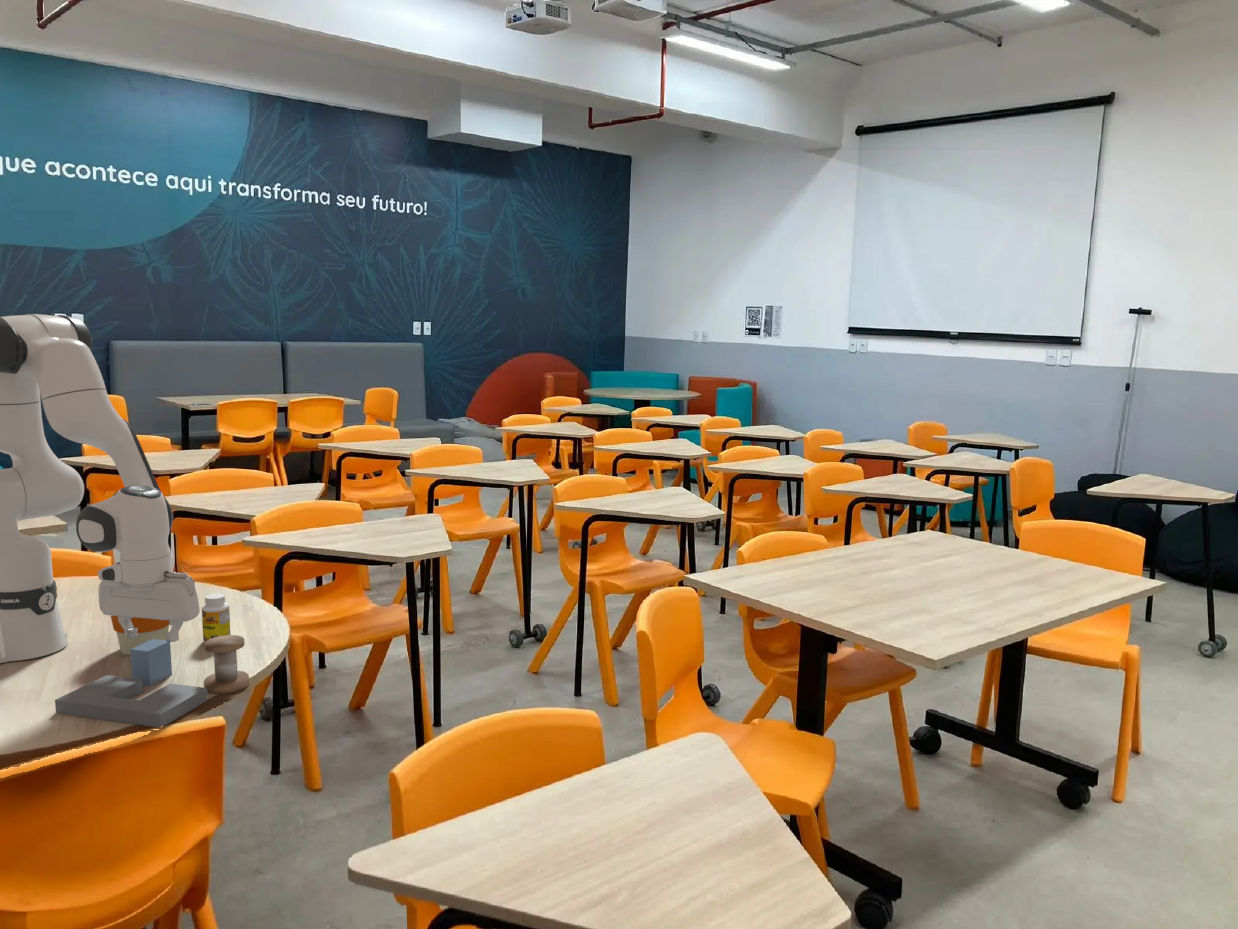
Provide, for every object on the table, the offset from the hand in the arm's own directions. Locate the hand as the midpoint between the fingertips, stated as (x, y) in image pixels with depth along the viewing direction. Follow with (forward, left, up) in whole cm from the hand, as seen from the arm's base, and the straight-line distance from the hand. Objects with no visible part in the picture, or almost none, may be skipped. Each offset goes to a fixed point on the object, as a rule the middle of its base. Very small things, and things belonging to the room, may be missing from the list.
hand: (152, 639), depth 179 cm
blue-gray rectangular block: (-1, 0, -8) cm, 8 cm away
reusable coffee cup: (-15, +14, -9) cm, 22 cm away
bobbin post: (+15, +1, -8) cm, 18 cm away
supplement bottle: (-3, +22, -9) cm, 24 cm away
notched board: (+5, -12, -8) cm, 15 cm away
